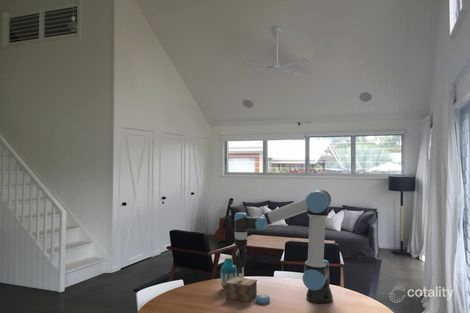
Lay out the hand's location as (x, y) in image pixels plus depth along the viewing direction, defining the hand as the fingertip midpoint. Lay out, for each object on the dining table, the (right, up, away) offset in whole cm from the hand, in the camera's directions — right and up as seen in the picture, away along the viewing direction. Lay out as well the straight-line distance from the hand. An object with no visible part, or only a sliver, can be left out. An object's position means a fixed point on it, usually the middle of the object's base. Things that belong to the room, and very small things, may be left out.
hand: (241, 278), depth 218 cm
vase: (-8, -13, +16) cm, 21 cm away
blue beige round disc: (+12, -11, -7) cm, 18 cm away
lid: (0, -4, -1) cm, 4 cm away
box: (0, -12, 0) cm, 12 cm away
